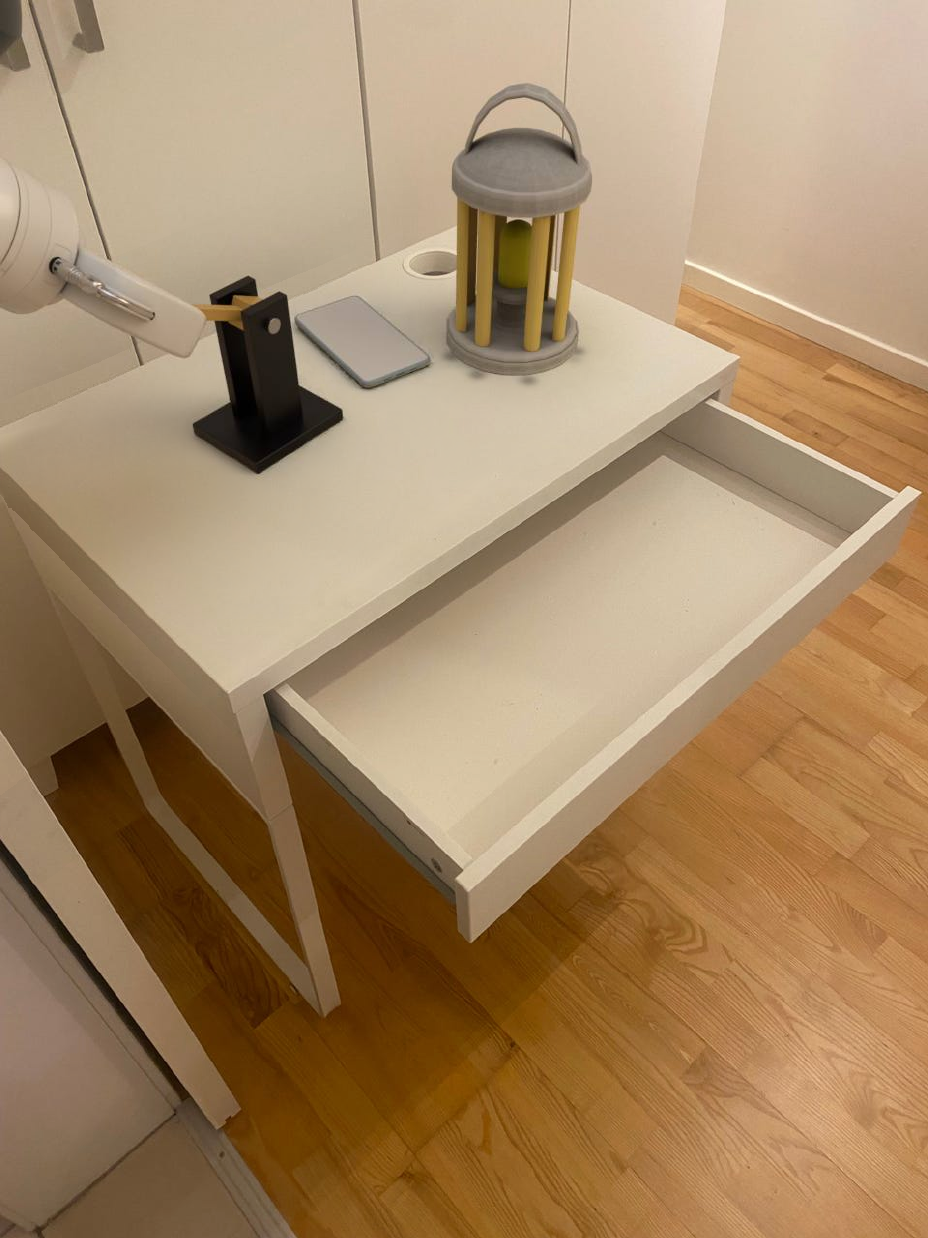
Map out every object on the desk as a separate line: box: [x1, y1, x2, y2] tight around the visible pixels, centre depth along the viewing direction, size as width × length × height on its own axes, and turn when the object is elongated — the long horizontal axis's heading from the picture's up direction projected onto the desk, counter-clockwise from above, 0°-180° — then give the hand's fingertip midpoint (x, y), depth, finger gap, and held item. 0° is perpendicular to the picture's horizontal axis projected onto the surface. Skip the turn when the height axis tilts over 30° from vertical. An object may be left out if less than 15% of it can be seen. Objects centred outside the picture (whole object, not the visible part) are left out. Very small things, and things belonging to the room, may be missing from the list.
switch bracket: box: [191, 275, 344, 474], centre depth 87 cm, size 11×9×14 cm
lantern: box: [445, 82, 593, 376], centre depth 94 cm, size 14×14×25 cm
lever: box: [190, 295, 264, 331], centre depth 79 cm, size 12×5×2 cm, turn 139°
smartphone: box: [294, 295, 431, 389], centre depth 101 cm, size 8×1×15 cm
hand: (163, 314), depth 76 cm, fingers closed on lever, 5 cm apart
